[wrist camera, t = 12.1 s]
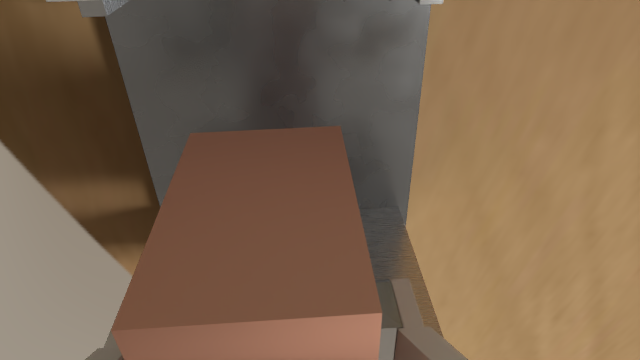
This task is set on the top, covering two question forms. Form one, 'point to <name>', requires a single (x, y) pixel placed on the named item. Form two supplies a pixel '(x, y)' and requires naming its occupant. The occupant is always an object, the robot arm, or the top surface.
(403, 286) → the robot arm
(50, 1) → the pale green block
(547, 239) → the top surface
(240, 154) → the block
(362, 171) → the tray
